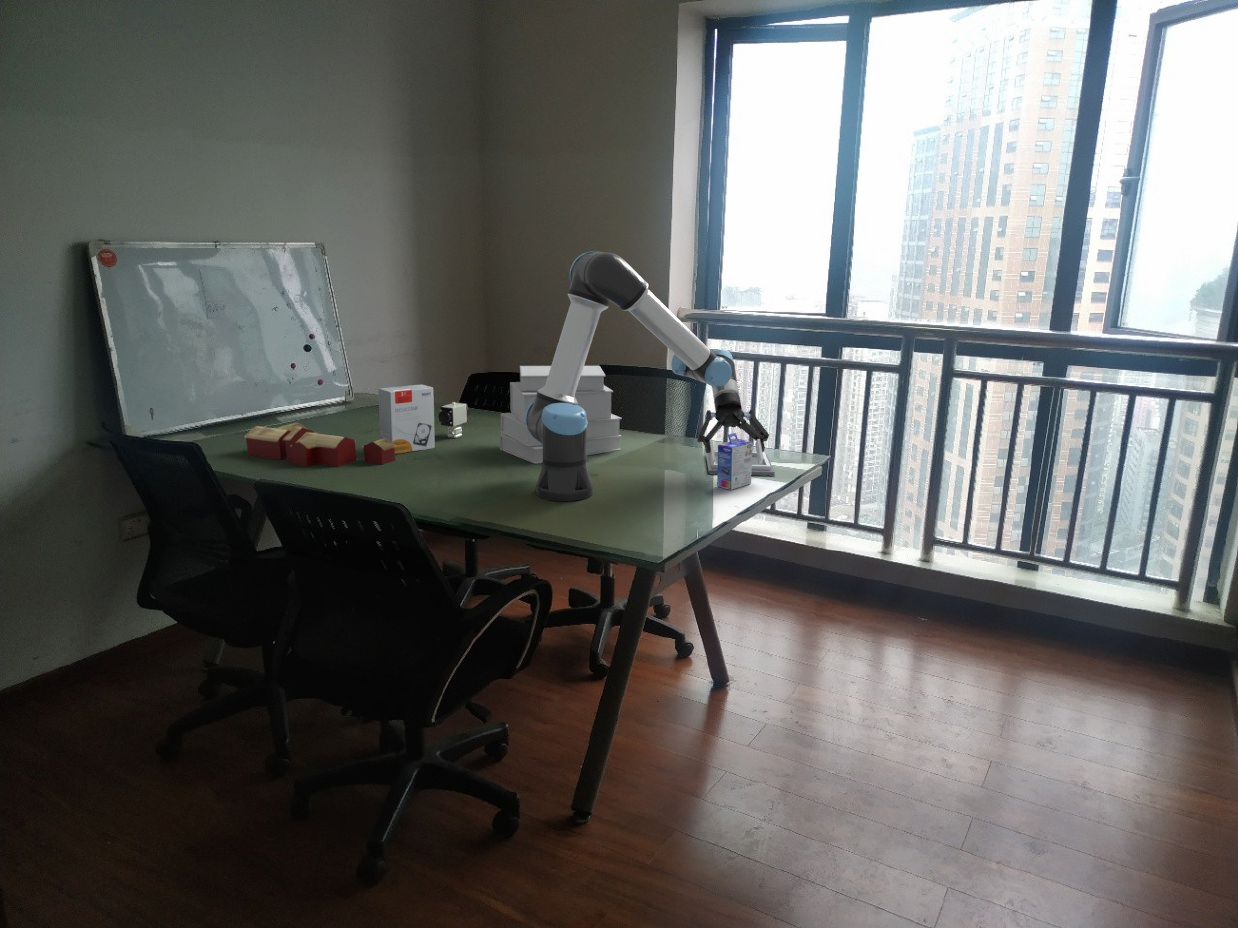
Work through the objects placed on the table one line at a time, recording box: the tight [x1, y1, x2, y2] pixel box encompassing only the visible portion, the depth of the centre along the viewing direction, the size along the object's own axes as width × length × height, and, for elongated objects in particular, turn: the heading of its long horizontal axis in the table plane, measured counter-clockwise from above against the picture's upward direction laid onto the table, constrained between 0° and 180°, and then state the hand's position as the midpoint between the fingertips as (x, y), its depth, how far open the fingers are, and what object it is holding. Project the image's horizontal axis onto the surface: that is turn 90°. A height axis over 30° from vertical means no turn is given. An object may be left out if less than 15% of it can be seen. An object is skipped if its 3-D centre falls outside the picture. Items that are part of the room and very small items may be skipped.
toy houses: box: [243, 421, 397, 468], centre depth 262 cm, size 45×20×10 cm, turn 67°
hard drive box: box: [377, 384, 436, 455], centre depth 272 cm, size 16×8×20 cm, turn 131°
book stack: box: [499, 365, 623, 465], centre depth 274 cm, size 30×35×26 cm
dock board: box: [705, 450, 776, 477], centre depth 261 cm, size 19×21×2 cm
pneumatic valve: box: [438, 401, 470, 439], centre depth 291 cm, size 6×12×12 cm, turn 155°
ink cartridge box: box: [716, 432, 753, 491], centre depth 240 cm, size 10×6×14 cm, turn 137°
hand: (737, 462), depth 239 cm, fingers open, 13 cm apart
